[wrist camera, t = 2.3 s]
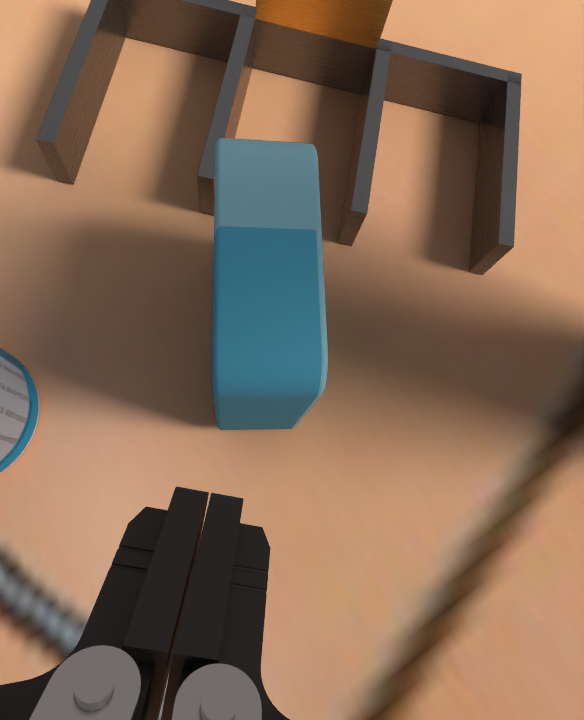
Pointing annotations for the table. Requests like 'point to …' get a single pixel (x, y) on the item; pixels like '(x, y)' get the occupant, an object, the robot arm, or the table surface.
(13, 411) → the beverage bottle
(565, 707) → the table surface
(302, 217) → the data package
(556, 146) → the table surface
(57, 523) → the table surface
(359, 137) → the sorting rack
